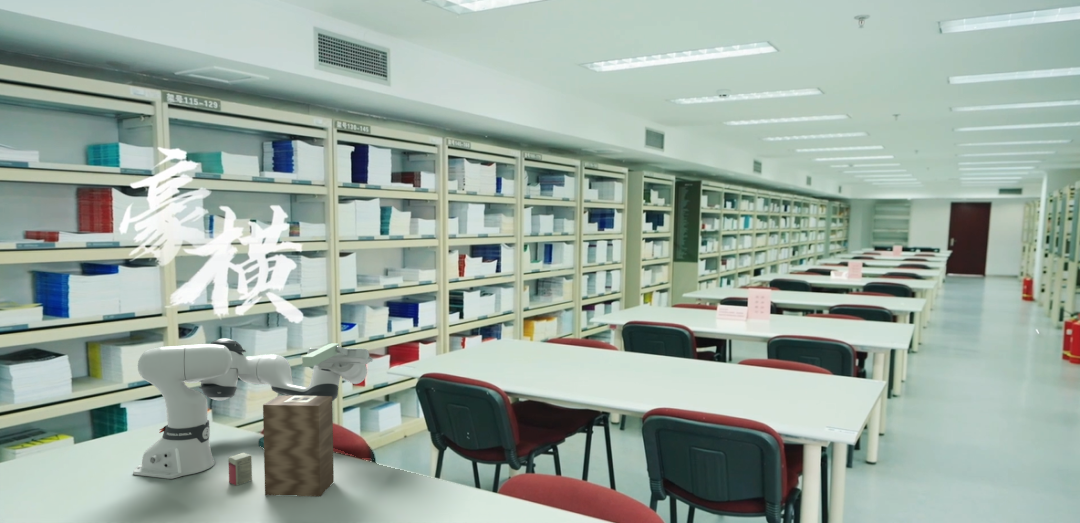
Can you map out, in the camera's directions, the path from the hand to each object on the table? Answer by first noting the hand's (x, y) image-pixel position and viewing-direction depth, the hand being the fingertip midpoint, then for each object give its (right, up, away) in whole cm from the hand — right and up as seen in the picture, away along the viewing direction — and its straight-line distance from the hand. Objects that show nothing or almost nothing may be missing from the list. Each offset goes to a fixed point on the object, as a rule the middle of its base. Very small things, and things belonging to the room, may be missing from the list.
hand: (331, 348), depth 207 cm
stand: (-1, -38, -23) cm, 44 cm away
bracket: (-22, -36, +11) cm, 44 cm away
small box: (-21, -38, -18) cm, 47 cm away
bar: (0, -2, -8) cm, 8 cm away
